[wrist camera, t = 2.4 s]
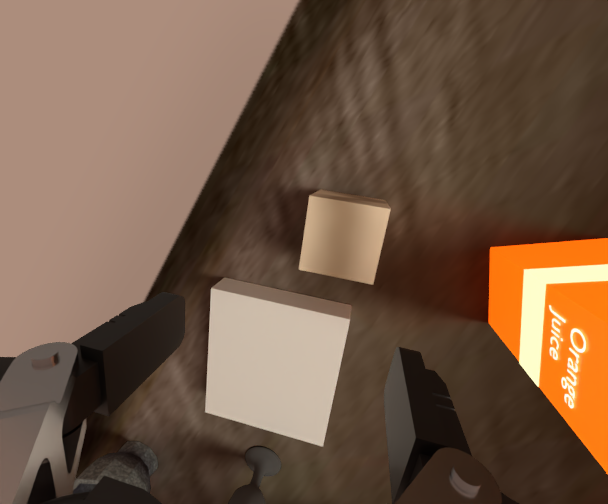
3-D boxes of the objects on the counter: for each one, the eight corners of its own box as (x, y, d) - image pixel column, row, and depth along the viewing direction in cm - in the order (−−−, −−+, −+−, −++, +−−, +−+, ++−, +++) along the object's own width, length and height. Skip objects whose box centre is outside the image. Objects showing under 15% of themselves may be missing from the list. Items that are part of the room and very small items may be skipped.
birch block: (385, 199, 27) (390, 209, 21) (371, 261, 29) (373, 284, 23) (320, 189, 28) (309, 195, 22) (311, 249, 29) (298, 269, 24)
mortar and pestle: (106, 461, 45) (20, 558, 34) (116, 420, 42) (25, 513, 31) (169, 495, 45) (103, 607, 33) (184, 457, 42) (117, 565, 30)
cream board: (351, 305, 30) (350, 319, 27) (326, 423, 35) (322, 446, 32) (224, 277, 32) (211, 288, 29) (217, 393, 37) (205, 412, 34)
